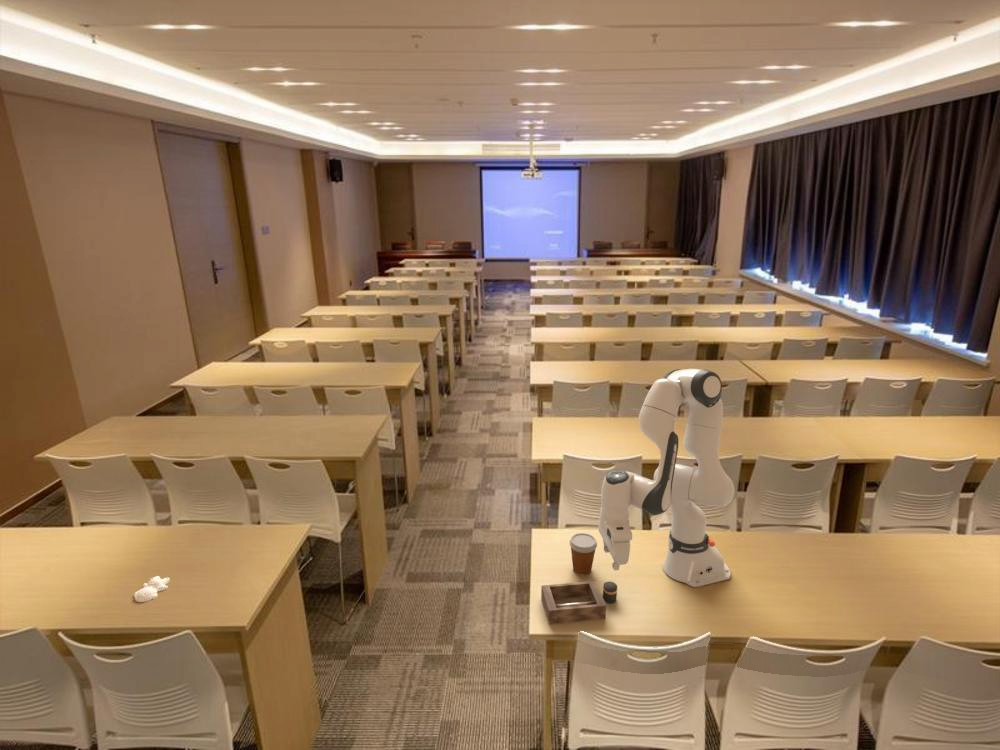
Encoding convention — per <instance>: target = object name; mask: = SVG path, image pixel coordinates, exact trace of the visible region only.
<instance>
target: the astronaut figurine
mask: <svg viewBox="0 0 1000 750" xmlns="http://www.w3.org/2000/svg"><path fill="white" fill-rule="evenodd" d="M169 582H170V578H169V577H164V578H161V576H159V575H156V576H154V577H151V578H149V581H148V583H146V582H144V583H143V584H142V587H141V588H140V589H139V590H138V591H135V593H134V594H133V597H134V600H135V601H136V602H137V603H145V602H149V601H152V600H155V599H157V597H158V592H162V591H165V590H168V589H169V585H167V584H168V583H169Z"/></svg>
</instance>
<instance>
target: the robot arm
mask: <svg viewBox="0 0 1000 750" xmlns="http://www.w3.org/2000/svg"><path fill="white" fill-rule="evenodd" d="M722 391H723V384H722V380H721V378H720V376H719V375H718V374H717V373H716V372H714V371H712V370H709V369H699V368H688V369H687V368H686V369H681V368H680V369H679V368H678V369H673V370H671V371H669V372H667V373H666V374H665V375H664V376H663V378H658V379H656V380H655V381H654V382H653V383H652V385H651V387H650V388H649V391H647V394H646V397H645V398H644V402H643V404H642V406H641V408H640V411H639V414H638V419H637V423H638V426H639V428H640V431H641V432H642V433H643V435H644V436H646V438H648V439H649V440H650V441H651V442H652V443H654V444H655V445H656V446H657V448H658V449H659V453H660V457H659V462H658V467H656V469H655V471H654V473H653V479H650V478H647V477H645V476H642V475H639V474H638V473H635V472H631V471H626V470H622V469H613V470H610V471H608V472H607V473H606V474H605V475H604V479H603V481H602V485H601V491H600V492H601V493H600V502H601V506H600V509H599V519H598V527H597V528H598V533H599V534H600V536H601V538H602V542H603V551H604V552H605V553H609V554H610V555H611V559H612V560H613V562H612V565H611V567H612V569H613V570H614V571H620V566H622V565H623V566H625V565H627V563H629V558H630V552H631V551H630V550H631V542H630V541H633V532H632V530H631V527H630V520H629V518H630V512H629V506H632V507H635V508H638V509H639V510H641V511H644V512H645V513H647V514H650V515H651V516H653V517H655V516H658V515H661V514H664V513H665V512H667V511H668V509H669V508H670V512H671V525H670V526H671V527H670V528H671V529H670V531H669V533H668V534H669V536H668V550H667V554H666V557H665V559H664V562H663V564H662V569H663V572H664V573H665V574H666V575H667V576H669V578H671V579H674V580H675V581H677V582H681V583H683V584H684V583H685V584H686V585H688V586H690V587H693V588H698V587H702V586H705V585H711V584H714V583H718V582H722V581H727V580H730V579H731V574H732V573H731V570H730V567H728V564H726V562H725V561H724V558H723V555H722V554H721V552H720V551H719V549H718V548H716V547H715V546H716V542H715V541H714V540H713V539H712V538H710V536H709V535H708V534H707V533H706V530H707V521H708V520H707V517H706V514H705V511H703V510H702V508H700V507H699V506H697V505H696V504H695V503H698V504H702V505H705V506H706V505H707V506H711V507H726V506H727V505H729V504H730V503H731V502H732V501H733V498H734V497H735V485H734V483H733V480H732V479H731V478H730V476H729V475H727V473H726V472H725V470H724V469H723V467H722V464H721V461H720V457H719V456H720V455H719V448H720V439H721V433H722V427H723V421H724V420H723V419H724V403H723V400H722V399H721V396H722ZM682 403H688V405H689V406H688V407H689V413H688V415H687V416H688V417H687V421H686V425H685V426H686V427H685V431H684V436H683V437H684V438H683V441H682V444H683V448H684V450H685V451H686V452H687V454H689V455H690V456H691V457H693V458H694V459H695V460H696V461H697V464H698V466H697V467H694V466H689V465H684V464H680V463H677V457H678V451H679V436H678V434H677V433H676V432H675V421H676V418H677V415H678V412H679V407H680V406H681V404H682Z"/></svg>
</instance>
